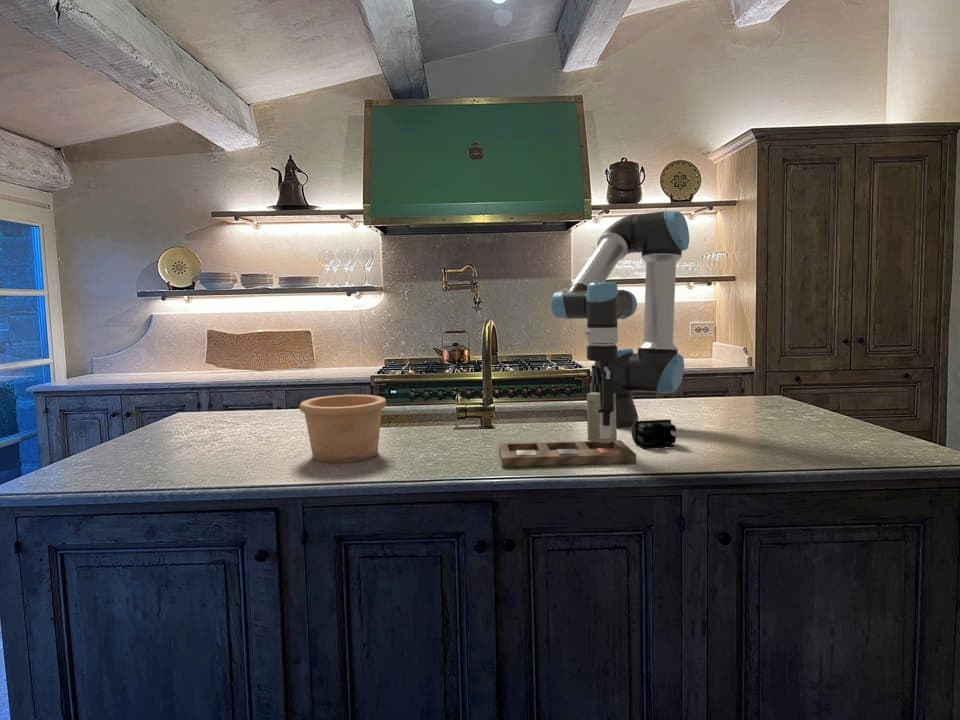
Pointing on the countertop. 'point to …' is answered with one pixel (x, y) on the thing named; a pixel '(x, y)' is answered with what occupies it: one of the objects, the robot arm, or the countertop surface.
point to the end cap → (653, 433)
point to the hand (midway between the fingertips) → (602, 434)
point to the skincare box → (594, 418)
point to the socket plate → (565, 454)
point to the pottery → (343, 427)
